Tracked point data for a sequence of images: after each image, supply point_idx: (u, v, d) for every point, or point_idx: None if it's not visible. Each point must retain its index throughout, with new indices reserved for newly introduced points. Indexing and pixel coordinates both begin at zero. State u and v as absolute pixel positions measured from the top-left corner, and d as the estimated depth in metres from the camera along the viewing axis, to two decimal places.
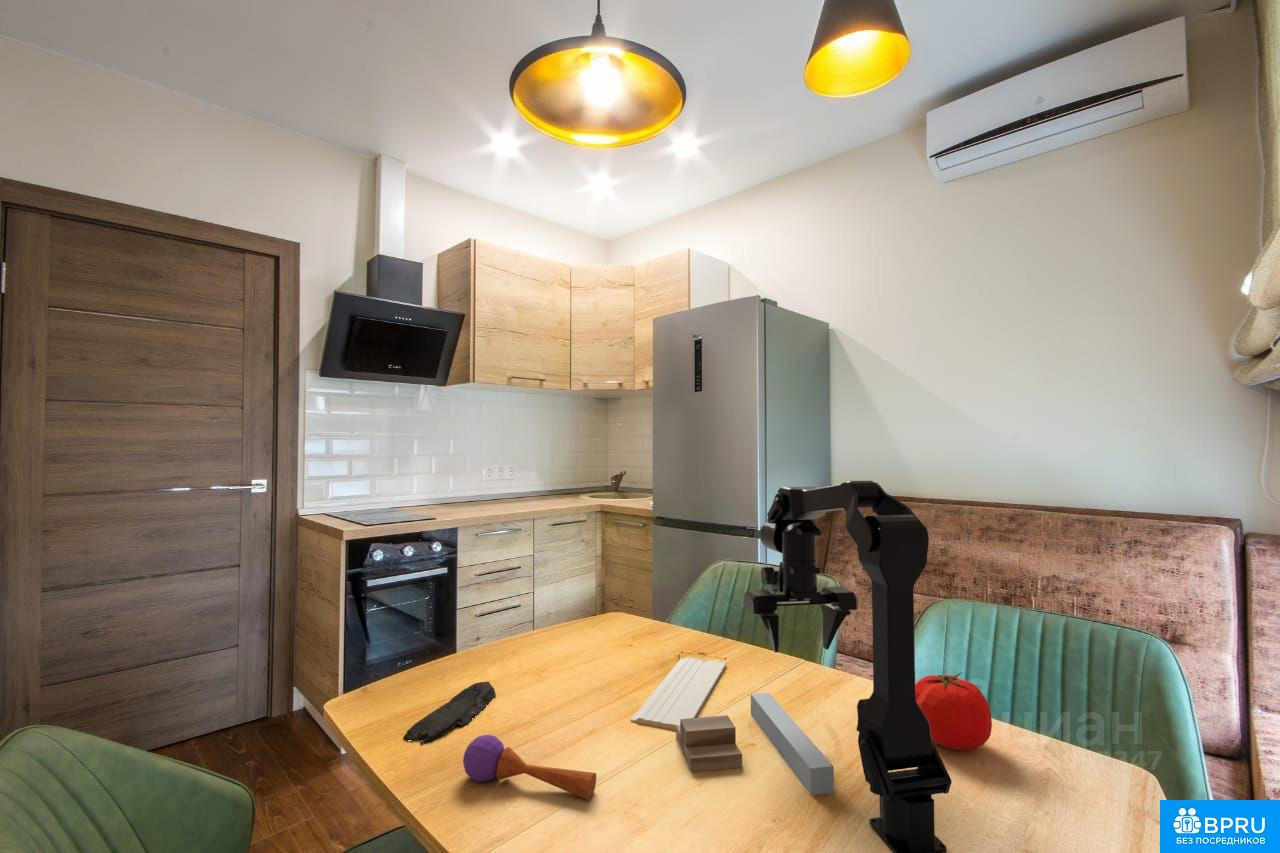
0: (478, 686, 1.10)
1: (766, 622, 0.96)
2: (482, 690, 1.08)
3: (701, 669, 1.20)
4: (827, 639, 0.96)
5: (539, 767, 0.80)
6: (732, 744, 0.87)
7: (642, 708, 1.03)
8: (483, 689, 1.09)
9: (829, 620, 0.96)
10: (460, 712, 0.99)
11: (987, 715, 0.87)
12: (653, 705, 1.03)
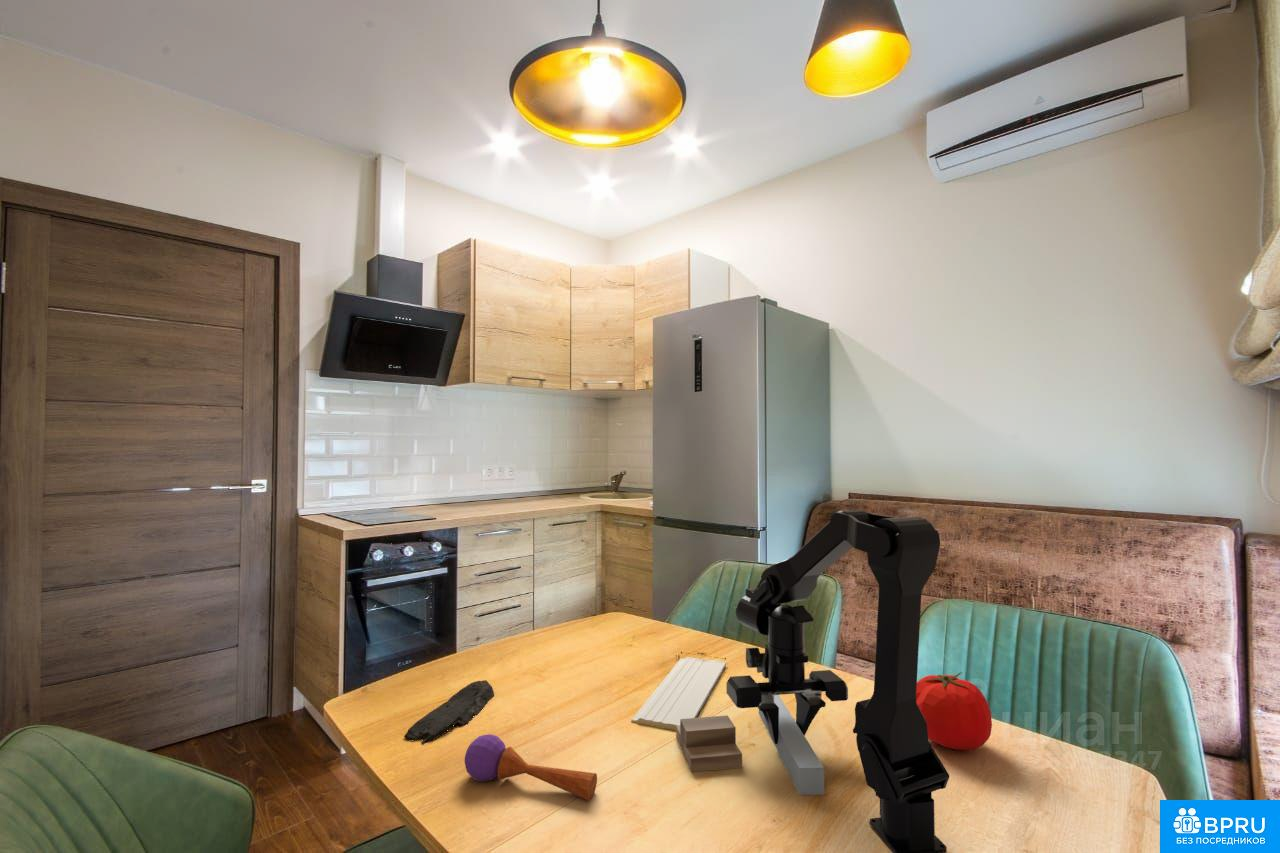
0: (476, 685, 1.10)
1: None
2: (480, 689, 1.09)
3: (701, 669, 1.20)
4: None
5: (540, 767, 0.80)
6: (732, 744, 0.87)
7: (642, 708, 1.03)
8: (481, 688, 1.09)
9: (802, 711, 0.90)
10: (460, 711, 0.99)
11: (987, 715, 0.87)
12: (653, 706, 1.03)
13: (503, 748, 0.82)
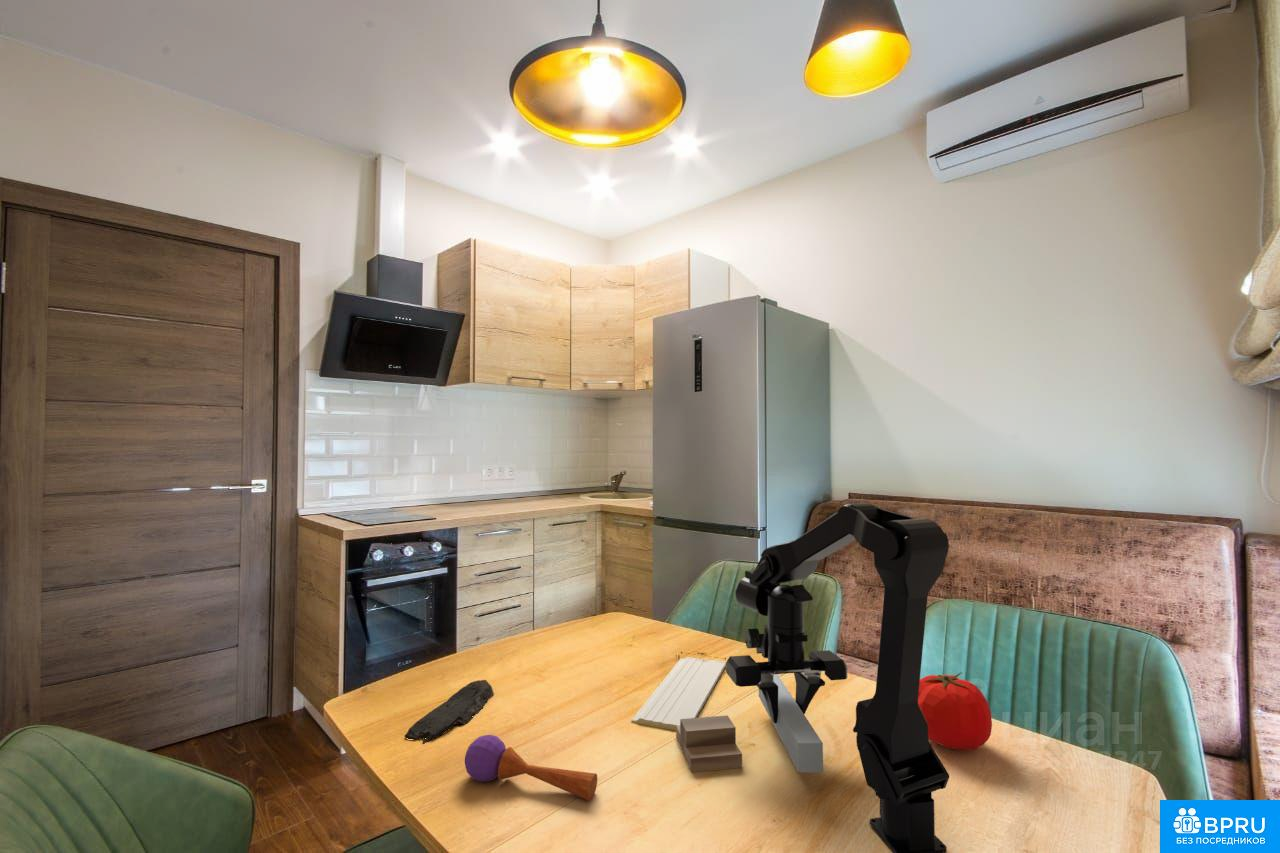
0: (476, 684, 1.10)
1: (765, 690, 0.91)
2: (480, 688, 1.09)
3: (701, 669, 1.20)
4: None
5: (540, 767, 0.80)
6: (732, 744, 0.87)
7: (642, 708, 1.03)
8: (481, 687, 1.09)
9: (802, 690, 0.90)
10: (460, 710, 1.00)
11: (987, 715, 0.87)
12: (653, 706, 1.03)
13: (503, 748, 0.82)
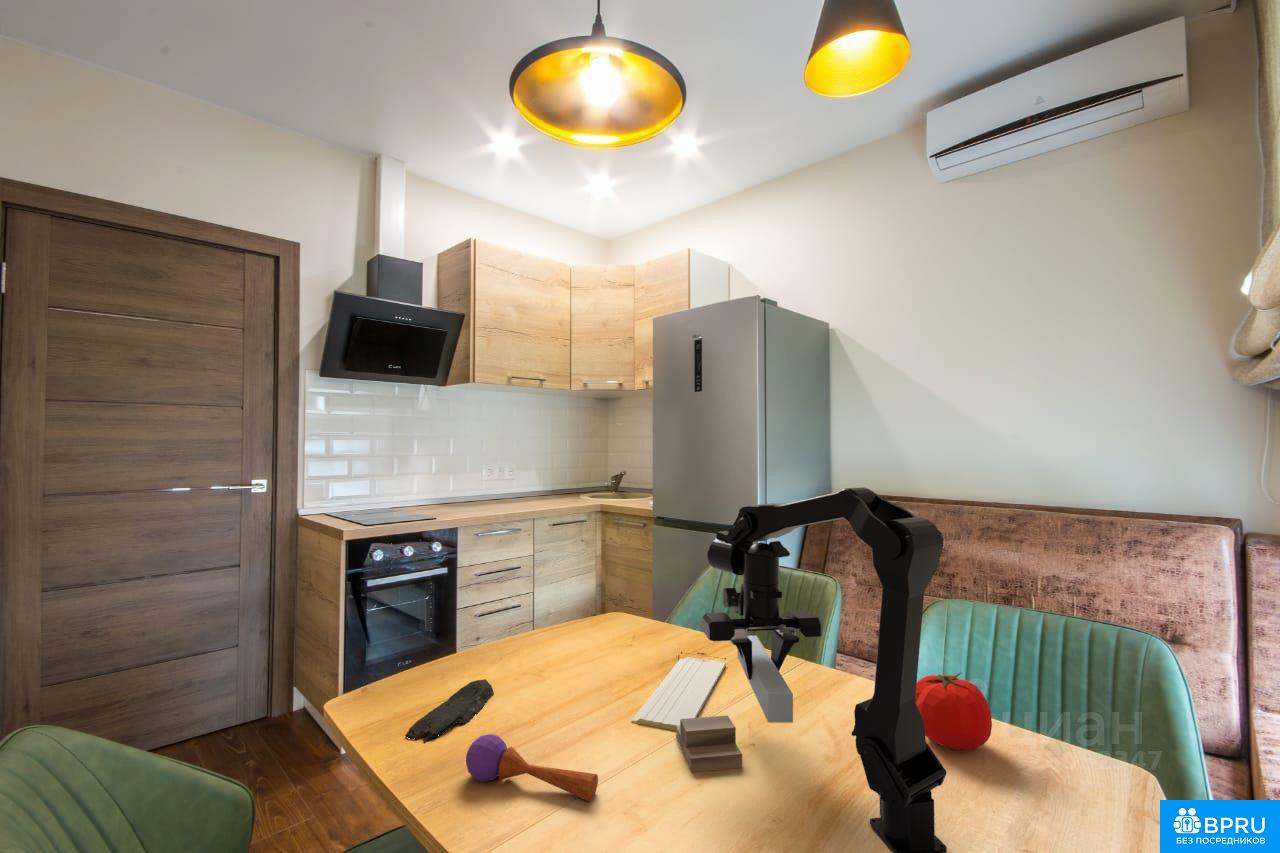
0: (476, 684, 1.11)
1: (740, 647, 0.91)
2: (480, 688, 1.09)
3: (701, 669, 1.20)
4: None
5: (541, 767, 0.80)
6: (732, 744, 0.87)
7: (642, 708, 1.03)
8: (481, 687, 1.09)
9: (777, 647, 0.90)
10: (460, 710, 1.00)
11: (987, 715, 0.87)
12: (653, 706, 1.03)
13: (504, 748, 0.82)
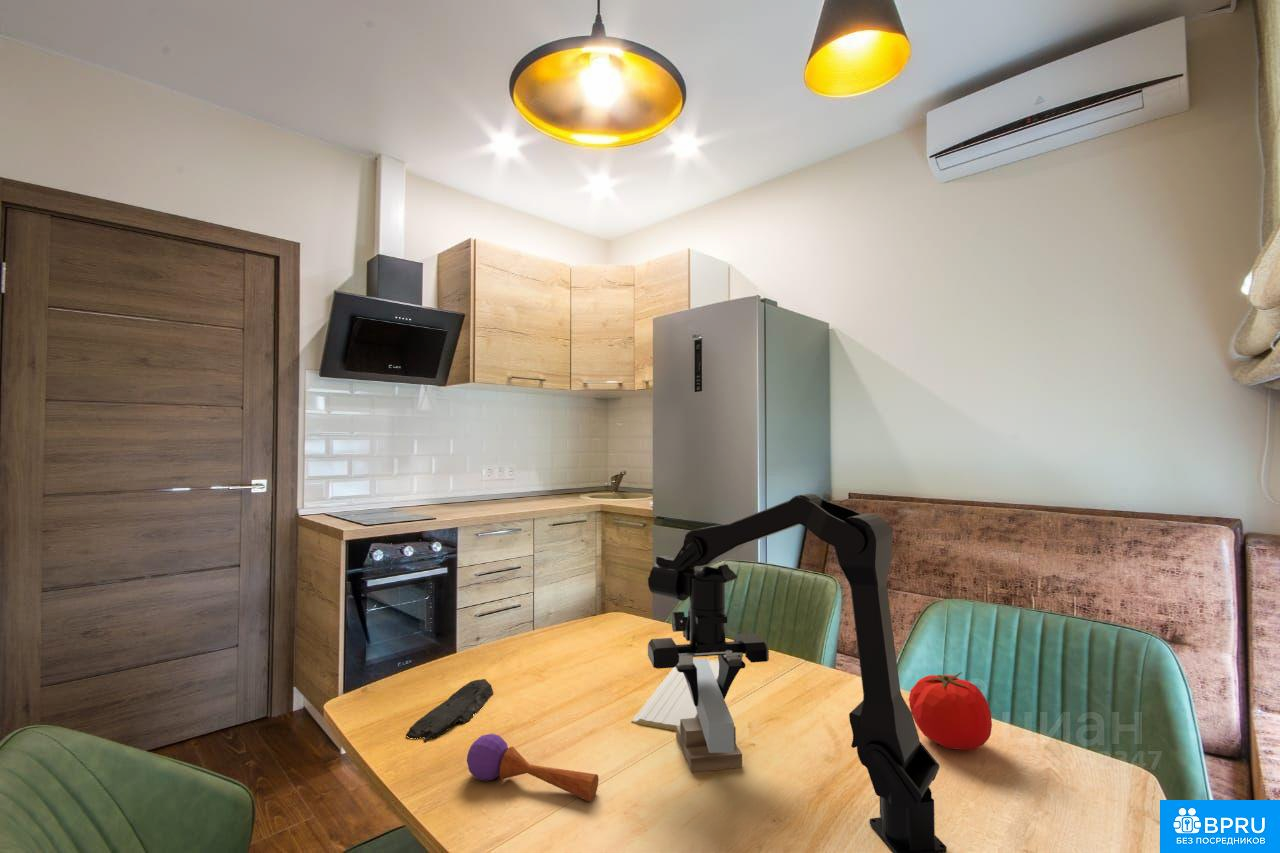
0: (476, 683, 1.11)
1: None
2: (480, 687, 1.09)
3: None
4: None
5: (541, 767, 0.80)
6: None
7: (642, 709, 1.03)
8: (480, 686, 1.10)
9: (723, 673, 0.89)
10: (461, 709, 1.00)
11: (987, 715, 0.87)
12: (653, 706, 1.03)
13: (505, 748, 0.82)
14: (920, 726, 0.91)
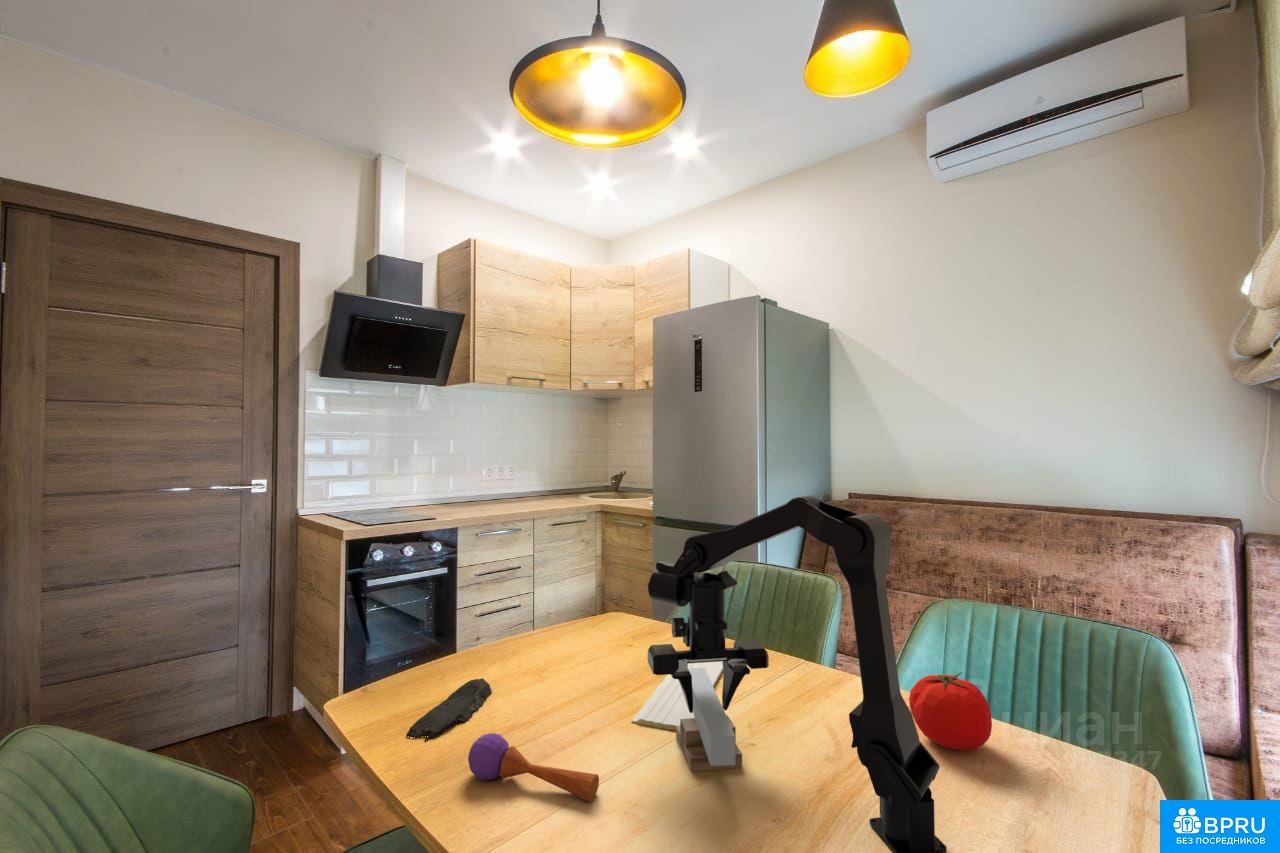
0: (474, 683, 1.11)
1: None
2: (478, 687, 1.10)
3: None
4: (725, 699, 0.89)
5: (542, 767, 0.80)
6: None
7: (642, 709, 1.03)
8: (479, 686, 1.10)
9: (728, 679, 0.89)
10: (460, 709, 1.00)
11: (987, 715, 0.87)
12: (654, 706, 1.03)
13: (506, 747, 0.82)
14: (920, 726, 0.91)
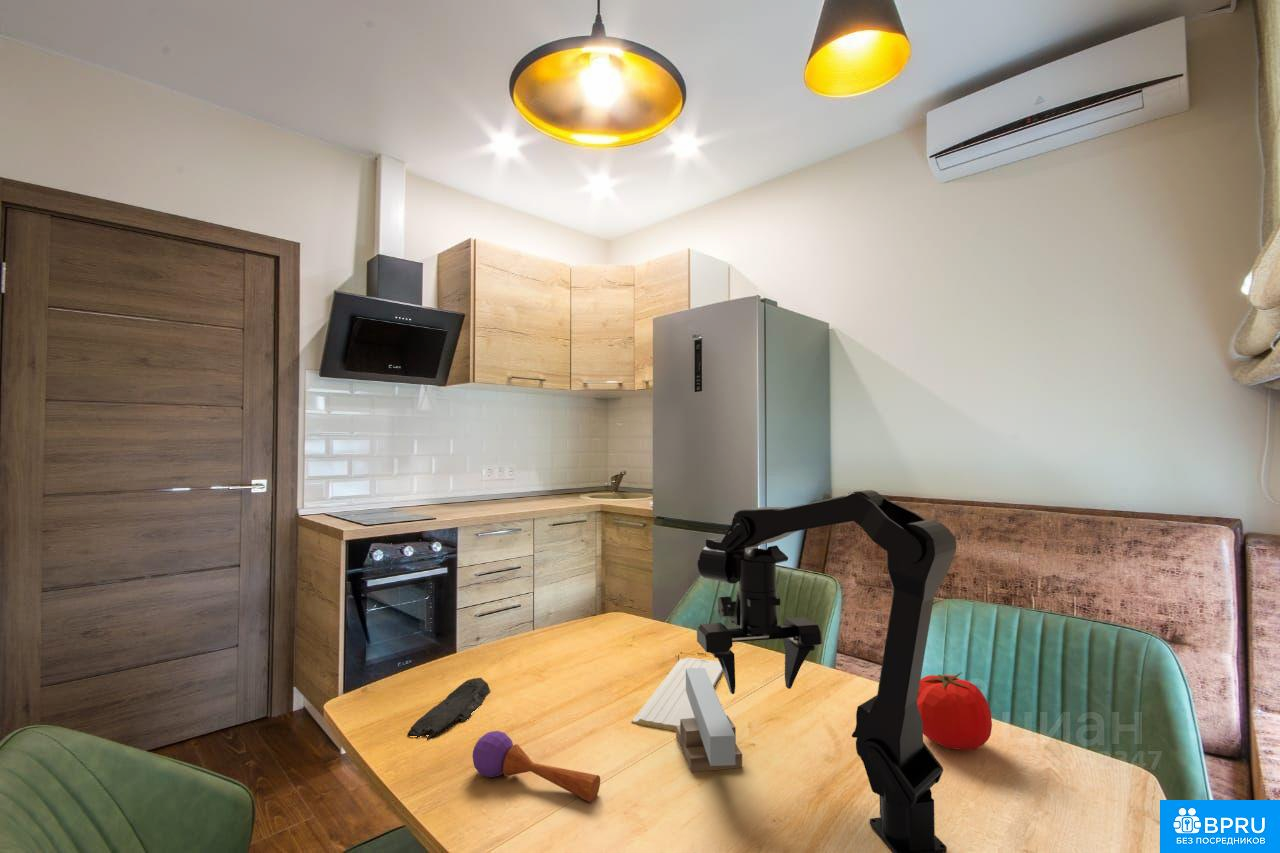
0: (472, 682, 1.11)
1: (722, 660, 0.86)
2: (477, 686, 1.10)
3: None
4: (789, 677, 0.87)
5: (544, 766, 0.80)
6: None
7: (642, 709, 1.03)
8: (477, 685, 1.10)
9: (791, 656, 0.87)
10: (460, 708, 1.01)
11: (987, 715, 0.87)
12: (654, 706, 1.03)
13: (510, 745, 0.83)
14: None
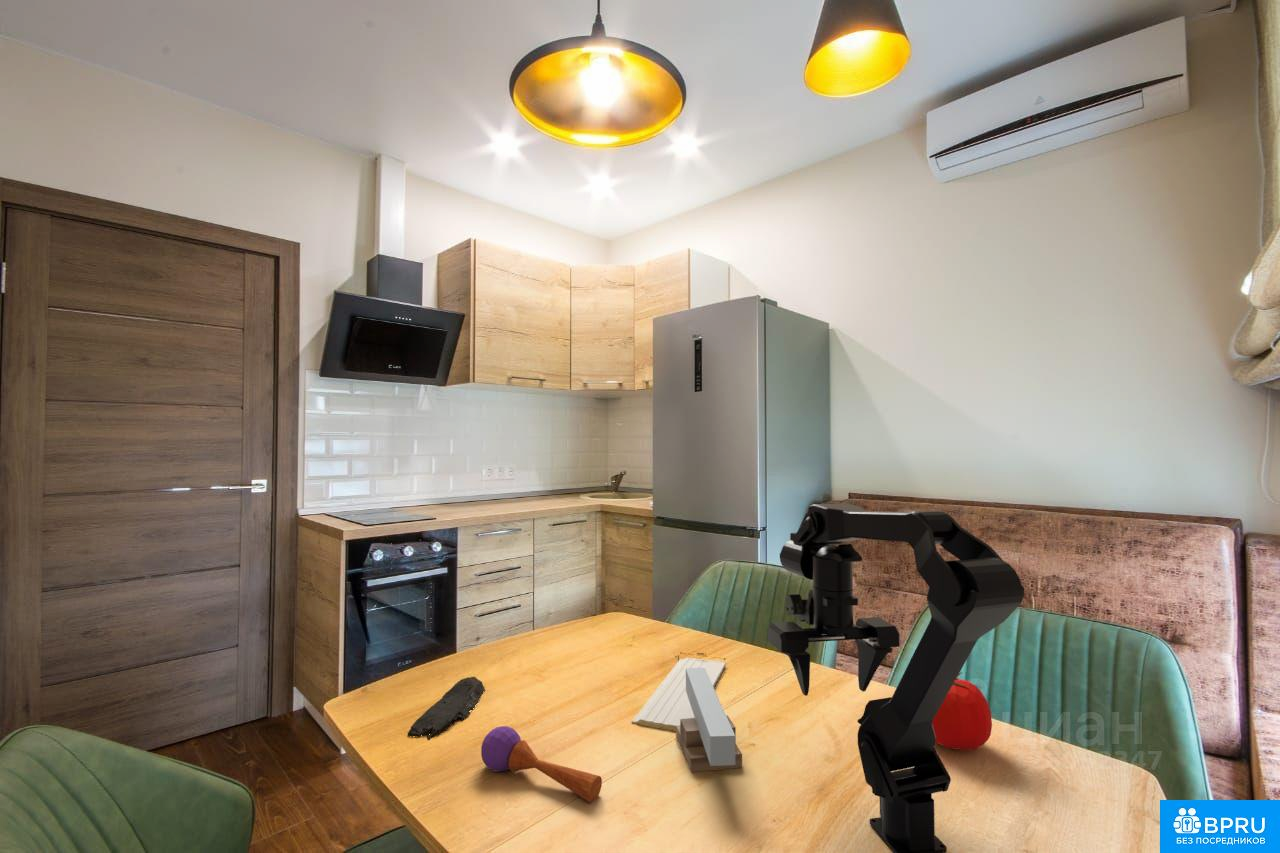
0: (466, 681, 1.12)
1: (794, 660, 0.83)
2: (472, 684, 1.11)
3: None
4: (864, 680, 0.83)
5: (548, 763, 0.81)
6: None
7: (642, 709, 1.03)
8: (472, 684, 1.11)
9: (866, 658, 0.83)
10: (459, 706, 1.01)
11: (987, 715, 0.87)
12: (654, 707, 1.03)
13: (517, 741, 0.84)
14: None
